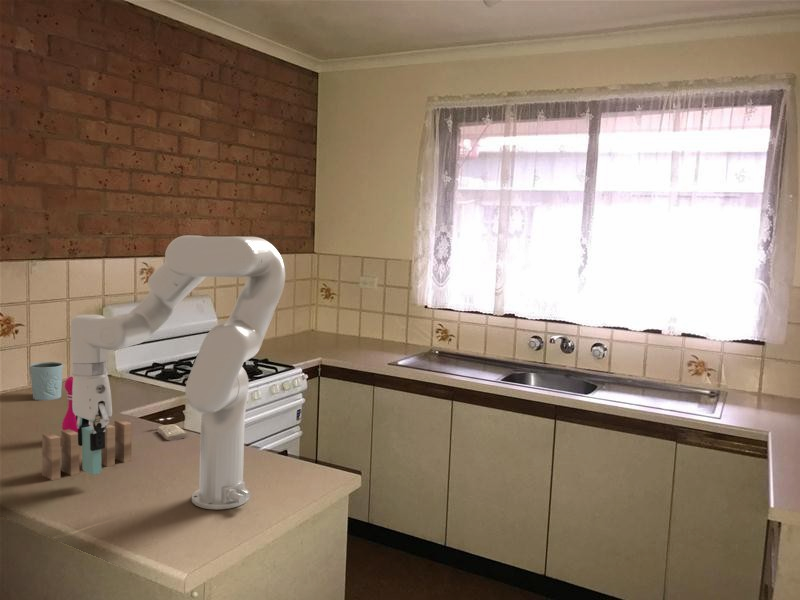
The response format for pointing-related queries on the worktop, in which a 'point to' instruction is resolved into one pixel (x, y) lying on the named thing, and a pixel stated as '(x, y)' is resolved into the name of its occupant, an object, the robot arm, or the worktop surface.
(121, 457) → the domino
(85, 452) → the domino
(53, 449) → the domino
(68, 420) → the pepper mill
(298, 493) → the worktop surface
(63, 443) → the domino
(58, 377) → the light blue cup
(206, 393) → the robot arm
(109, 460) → the domino
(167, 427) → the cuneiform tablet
